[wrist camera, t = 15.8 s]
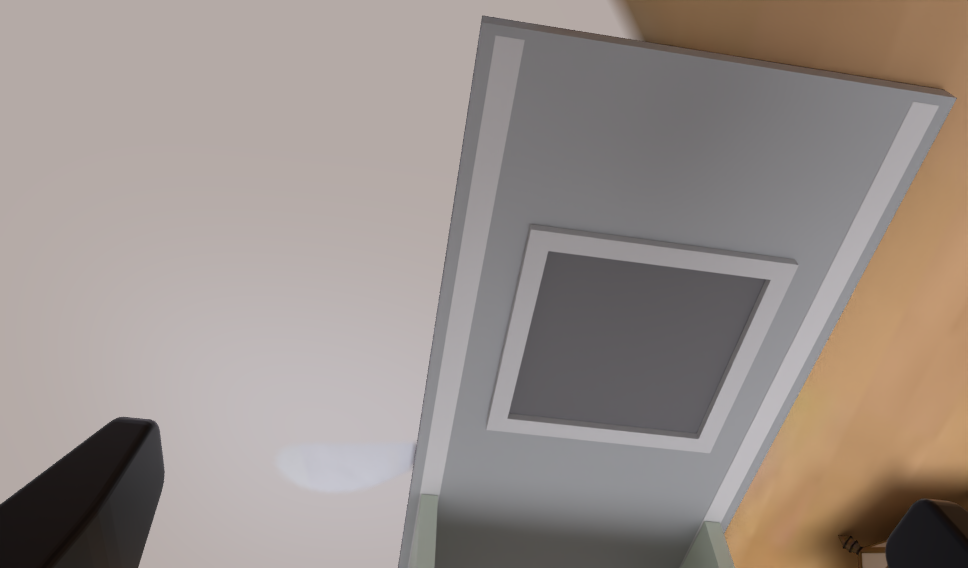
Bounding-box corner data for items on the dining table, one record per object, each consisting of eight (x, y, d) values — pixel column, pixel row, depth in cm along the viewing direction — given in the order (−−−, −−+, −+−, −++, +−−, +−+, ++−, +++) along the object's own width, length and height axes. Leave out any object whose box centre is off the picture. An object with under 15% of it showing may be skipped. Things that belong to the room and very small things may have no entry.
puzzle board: (944, 89, 19) (963, 102, 18) (671, 612, 32) (676, 632, 31) (482, 15, 18) (482, 26, 17) (394, 589, 31) (392, 609, 30)
